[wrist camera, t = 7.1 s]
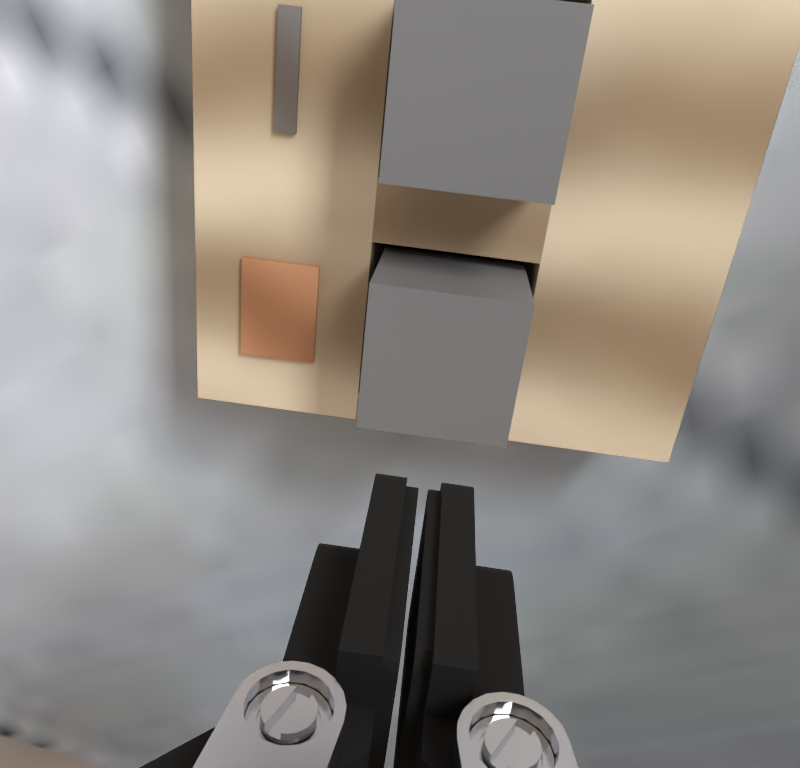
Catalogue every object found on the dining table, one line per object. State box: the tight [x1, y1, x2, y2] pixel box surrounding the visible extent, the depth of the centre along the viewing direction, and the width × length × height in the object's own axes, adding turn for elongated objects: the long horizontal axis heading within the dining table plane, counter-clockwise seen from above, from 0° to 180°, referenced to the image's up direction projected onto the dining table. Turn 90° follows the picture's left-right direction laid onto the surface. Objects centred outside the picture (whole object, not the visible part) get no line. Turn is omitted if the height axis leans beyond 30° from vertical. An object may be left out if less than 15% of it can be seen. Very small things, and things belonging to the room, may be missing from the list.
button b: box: [379, 0, 594, 205], centre depth 18 cm, size 4×4×4 cm
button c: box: [356, 247, 535, 449], centre depth 21 cm, size 4×4×4 cm
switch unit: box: [191, 0, 800, 462], centre depth 21 cm, size 21×16×4 cm
